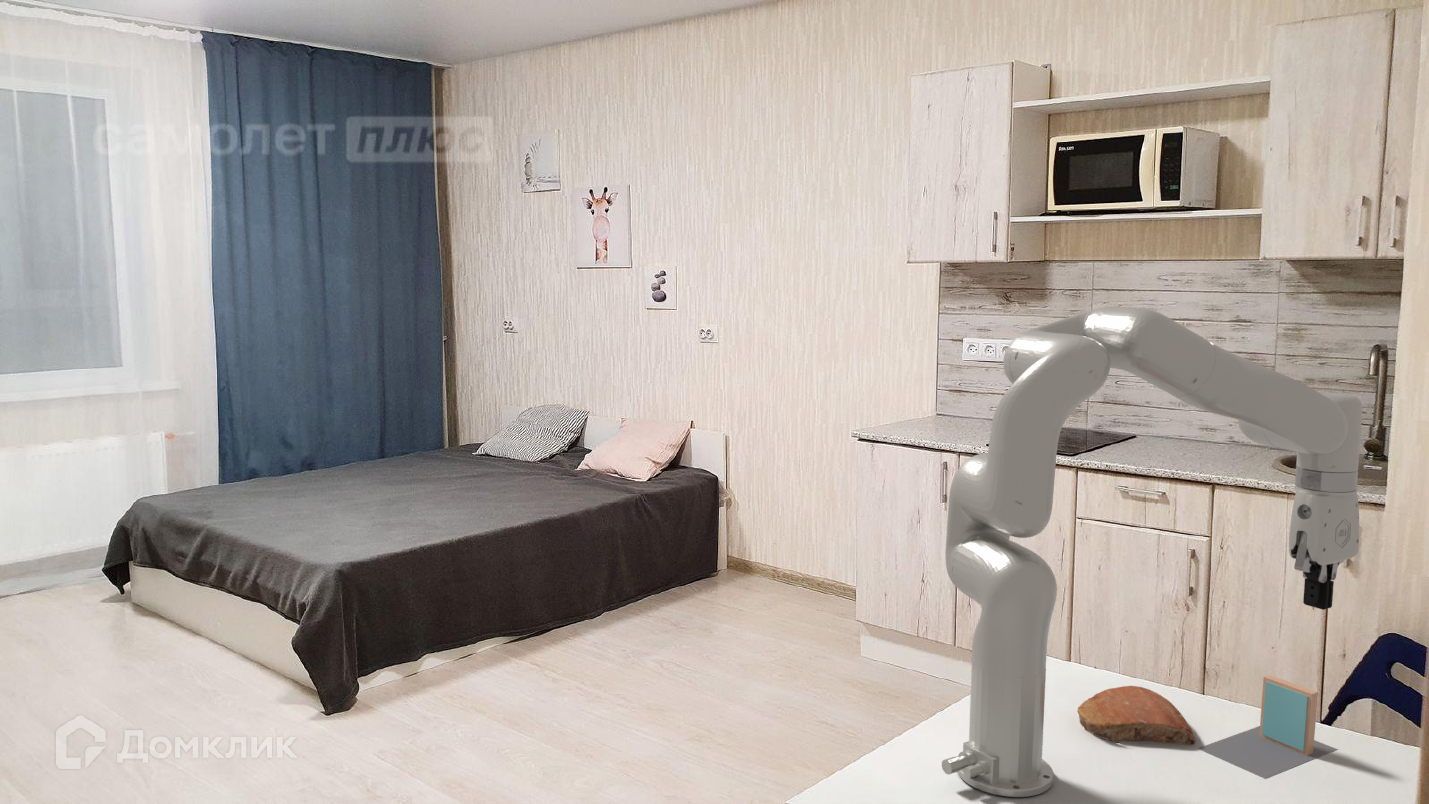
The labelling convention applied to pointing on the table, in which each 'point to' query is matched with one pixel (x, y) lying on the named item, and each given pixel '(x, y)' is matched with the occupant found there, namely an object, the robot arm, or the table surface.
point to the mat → (1261, 753)
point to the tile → (1288, 714)
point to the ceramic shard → (1134, 717)
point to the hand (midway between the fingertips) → (1317, 605)
